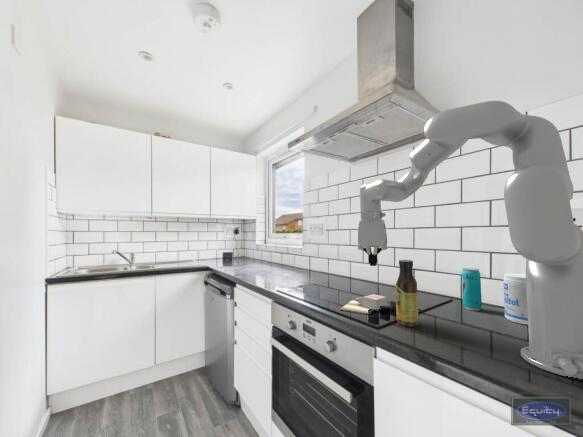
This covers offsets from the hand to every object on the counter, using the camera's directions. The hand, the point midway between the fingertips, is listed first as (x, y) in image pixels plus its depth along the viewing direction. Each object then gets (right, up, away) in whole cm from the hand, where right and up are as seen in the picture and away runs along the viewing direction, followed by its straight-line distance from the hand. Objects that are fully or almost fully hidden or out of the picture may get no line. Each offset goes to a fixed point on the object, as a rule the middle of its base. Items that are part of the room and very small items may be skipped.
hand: (373, 265), depth 94 cm
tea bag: (+3, -14, -1) cm, 14 cm away
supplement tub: (+44, -16, -13) cm, 49 cm away
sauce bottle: (+6, -16, -16) cm, 23 cm away
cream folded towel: (-4, -16, +2) cm, 17 cm away
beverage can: (+37, -17, 0) cm, 41 cm away
